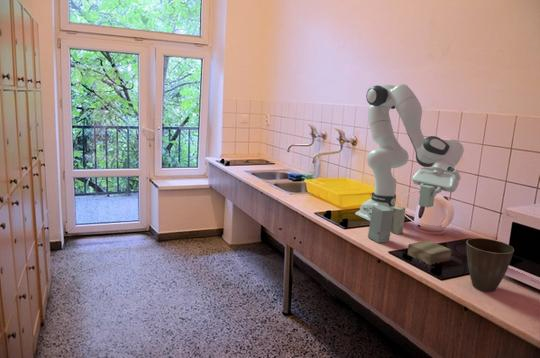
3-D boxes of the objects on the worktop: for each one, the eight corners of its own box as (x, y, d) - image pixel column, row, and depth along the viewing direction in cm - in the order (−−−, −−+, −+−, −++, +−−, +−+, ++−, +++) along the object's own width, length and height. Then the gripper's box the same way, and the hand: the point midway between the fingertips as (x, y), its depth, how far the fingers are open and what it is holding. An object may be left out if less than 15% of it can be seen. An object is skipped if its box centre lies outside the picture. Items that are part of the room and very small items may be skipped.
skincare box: (367, 237, 195) (370, 205, 192) (379, 236, 198) (382, 204, 195) (378, 243, 188) (381, 210, 184) (391, 242, 190) (394, 209, 187)
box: (395, 230, 207) (397, 205, 204) (403, 232, 204) (405, 207, 201) (389, 232, 204) (392, 207, 201) (398, 234, 200) (400, 209, 198)
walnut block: (407, 255, 176) (408, 244, 175) (427, 250, 182) (428, 240, 181) (429, 265, 166) (431, 254, 165) (450, 260, 172) (451, 249, 171)
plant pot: (451, 280, 152) (457, 240, 149) (481, 275, 158) (487, 236, 154) (485, 300, 139) (492, 255, 135) (517, 293, 144) (524, 250, 141)
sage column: (418, 205, 186) (420, 185, 184) (424, 203, 189) (426, 184, 187) (427, 207, 183) (429, 187, 181) (433, 206, 185) (435, 186, 183)
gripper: (418, 162, 194) (404, 185, 191) (460, 170, 178) (445, 195, 175) (423, 171, 198) (408, 193, 194) (464, 179, 182) (449, 203, 178)
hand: (426, 194), depth 184 cm, fingers closed on sage column, 4 cm apart
